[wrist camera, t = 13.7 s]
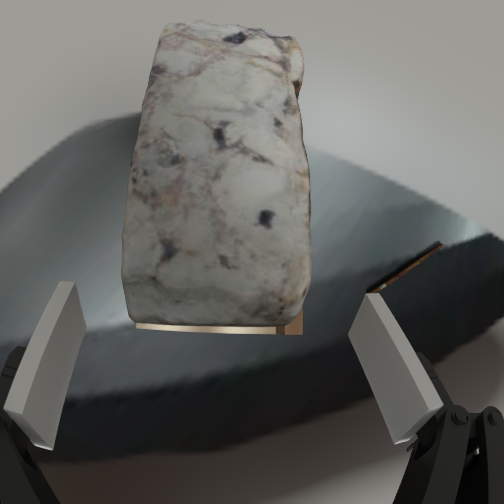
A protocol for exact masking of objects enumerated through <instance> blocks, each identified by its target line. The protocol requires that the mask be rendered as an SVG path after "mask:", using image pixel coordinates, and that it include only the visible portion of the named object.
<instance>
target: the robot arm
mask: <svg viewBox="0 0 504 504" xmlns="http://www.w3.org/2000/svg"><path fill="white" fill-rule="evenodd" d="M86 328H87V327H86V323H85V320H84V316H83V312H82V308H81V305H80V301H79V296H78V292H77V288H76V284H75V282H69V281H60V282H59V284H58V286H57V287H56V289H55V291H54V293H53V295H52V297H51V299H50V301H49V303H48V305H47V307H46V309H45V310H44V312H43V315H42V317H41V319H40V321H39V323H38V325H37V327H36V329H35V331H34V333H33V335H32V338H31V340H30V342H29V344H28V347H27V348H26V347H21V346H17V347H16V348H15V349H14V350H13V351H12V352H11V353H10V354H9V356H8V359H7V361H6V363H5V367H4V368H3V370H2V372H1V376H0V504H60V502H59V501H58V499H57V497H56V496H55V494H54V493H53V491H52V489H51V487H50V486H49V484H48V482H47V480H46V479H45V477H44V475H43V473H42V472H41V470H40V468H39V466H38V464H37V462H36V460H35V458H34V456H33V454H32V452H31V450H30V449H29V447H28V444H29V440H31V441H32V442H33V444H34V445H35V446H38V447H42V448H45V449H49V450H53V447H54V442H55V437H56V433H57V428H58V424H59V420H60V415H61V411H62V407H63V404H64V400H65V396H66V392H67V389H68V385H69V382H70V378H71V375H72V371H73V368H74V365H75V361H76V358H77V355H78V352H79V349H80V346H81V343H82V340H83V337H84V334H85V331H86ZM348 336H349V338H350V340H351V342H352V345H353V347H354V349H355V351H356V354H357V356H358V358H359V360H360V363H361V365H362V367H363V369H364V372H365V374H366V376H367V379H368V381H369V383H370V386H371V388H372V391H373V393H374V395H375V398H376V400H377V402H378V405H379V407H380V410H381V412H382V414H383V417H384V419H385V422H386V424H387V427H388V429H389V432H390V434H391V437H392V439H393V442H394V444H397V443H401V442H404V441H408V440H409V439H410V438H411V437H412V436H414V434H417V436H418V439H417V440H416V441H415V442H414V443H412V444H411V445H410V446H409V447H408V448H407V450H406V451H407V452H408V451H410V450H411V449H412V448H413V450H412V452H411V456H410V459H409V462H408V465H407V468H406V471H405V474H404V476H403V479H402V481H401V484H400V486H399V489H398V492H397V494H396V496H395V499H394V501H393V504H504V419H503V416H502V414H501V412H500V411H499V410H498V409H497V408H495V407H493V406H488V407H487V408H485V409H484V410H483V411H482V412H481V413H468V412H467V411H466V409H465V408H463V407H462V406H459V405H454V404H453V402H452V401H451V399H450V397H449V395H448V393H447V392H446V390H445V388H444V386H443V384H442V382H441V381H440V379H439V378H438V375H437V374H436V372H435V371H434V368H433V367H432V365H431V363H430V361H429V360H428V359H427V358H426V357H425V356H424V355H423V354H422V353H421V352H420V353H415V352H414V350H413V348H412V347H411V345H410V343H409V341H408V340H407V338H406V336H405V335H404V333H403V331H402V330H401V328H400V326H399V325H398V323H397V321H396V320H395V318H394V316H393V315H392V313H391V312H390V310H389V308H388V307H387V305H386V304H385V302H384V300H383V299H382V297H381V296H380V294H379V293H366V294H365V296H364V299H363V301H362V304H361V306H360V308H359V311H358V313H357V315H356V318H355V320H354V322H353V324H352V327H351V329H350V331H349V333H348ZM478 448H479V454H477V452H476V449H478ZM1 501H2V503H1Z"/></svg>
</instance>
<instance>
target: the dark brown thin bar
mask: <svg viewBox="0 0 504 504" xmlns="http://www.w3.org/2000/svg"><path fill="white" fill-rule="evenodd" d="M443 246H444V245H442V243H441V244H439V245H438V246H436V247H435V248H433V249H432V250H431V251H429V252H428V253H426V254H425V255H424V256H422V257H421V258H419V259H418V260H417V261H415V262H414V263H412V264H411V265H409V266H408V267H406V268H405V269H403V270H402V271H400V272H399V273H398V274H396V275H395V276H393V277H392V278H390V279H389V280H387V281H386V282H384V283H383V284H381V285H380V286H378V287H376V288H375V289H373V290H372V291H370V292H369V293H377V292H378V291H380V290H382V289H383V288H385V287H386V286H388V285H389V284H391V283H392V282H393V281H395V280H396V279H398V278H399V277H401V276H402V275H404V274H405V273H407V272H408V271H409V270H411V269H412V268H414V267H415V266H417V265H418V264H419V263H421V262H422V261H424V260H425V259H426V258H428V257H429V256H430V255H432V254H433V253H434V252H436V251H437V250H439V249H440V248H441V247H443Z"/></svg>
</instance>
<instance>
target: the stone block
mask: <svg viewBox="0 0 504 504" xmlns="http://www.w3.org/2000/svg"><path fill="white" fill-rule="evenodd" d="M303 73H304V62H303V54H302V50H301V47H300V45H299V43H298V41H297V40H296V38H294V37H291V36H287V37H278V36H275V35H272V34H270V33H268V32H266V31H265V30H263V29H261V28H248V27H244V26H240V25H228V24H227V25H216V24H209V23H207V22H205V21H202V20H198V21H193V22H184V23H169V24H168V25H166V26H165V28H164V30H163V31H162V34H161V36H160V38H159V42H158V46H157V49H156V53H155V56H154V60H153V65H152V69H151V72H150V76H149V82H148V87H147V90H146V94H145V97H144V101H143V104H142V112H141V121H140V126H139V131H138V136H137V141H136V144H135V147H134V151H133V156H132V162H131V168H130V175H129V182H128V190H127V200H126V209H125V220H124V227H123V235H122V270H121V277H122V283H123V288H124V294H125V299H126V305H127V310H128V314H129V317H130V318H131V319H132V320H133V321H134V322H135V323H141V324H146V323H147V324H157V325H171V326H211V327H278V326H285V325H288V324H290V323H291V322H292V321H293V320H294V319H295V318H296V317H297V315H298V314H299V312H300V310H301V307H302V304H303V301H304V299H305V297H306V295H307V292H308V289H309V285H310V282H311V266H312V251H311V235H310V216H311V200H310V172H309V164H308V159H307V154H306V150H305V146H304V143H303V128H302V120H301V114H300V109H299V104H298V96H299V91H300V88H301V85H302V80H303Z"/></svg>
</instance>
